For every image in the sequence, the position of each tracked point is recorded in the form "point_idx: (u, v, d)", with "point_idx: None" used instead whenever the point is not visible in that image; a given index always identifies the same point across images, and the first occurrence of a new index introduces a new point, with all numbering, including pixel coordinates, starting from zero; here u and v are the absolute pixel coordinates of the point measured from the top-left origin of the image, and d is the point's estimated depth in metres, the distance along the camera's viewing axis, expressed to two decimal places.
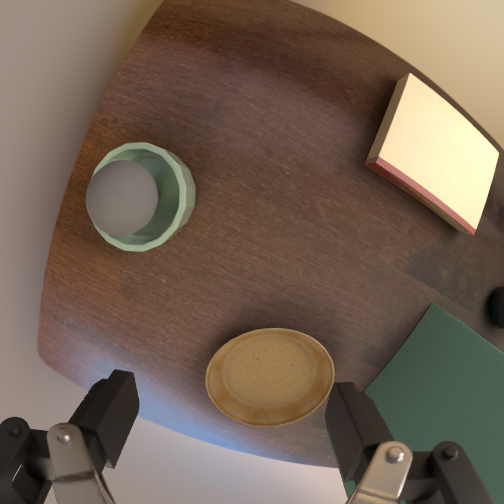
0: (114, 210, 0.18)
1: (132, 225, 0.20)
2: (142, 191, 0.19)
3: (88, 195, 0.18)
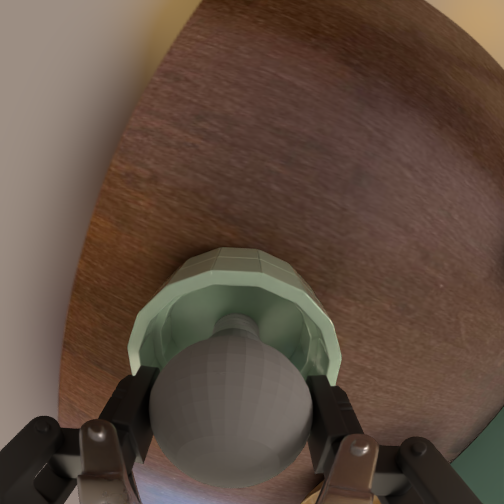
0: (250, 483, 0.07)
1: None
2: (304, 434, 0.08)
3: (170, 450, 0.07)
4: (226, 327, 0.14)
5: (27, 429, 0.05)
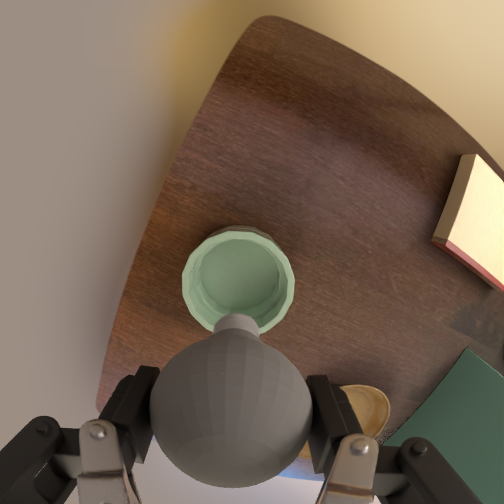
0: (250, 483, 0.07)
1: None
2: (304, 434, 0.08)
3: (171, 450, 0.07)
4: (226, 327, 0.14)
5: (27, 429, 0.05)
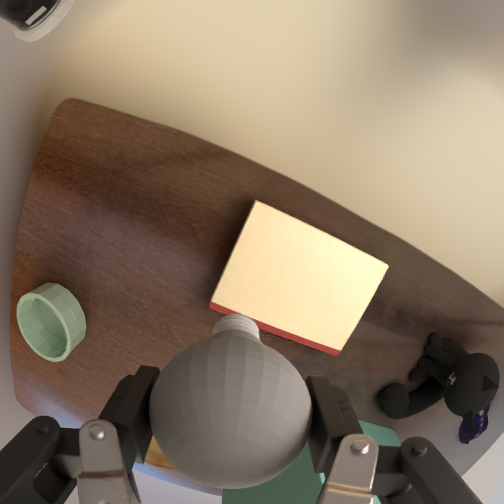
0: (250, 484, 0.07)
1: None
2: (304, 436, 0.08)
3: (170, 451, 0.07)
4: (226, 328, 0.14)
5: (27, 429, 0.05)
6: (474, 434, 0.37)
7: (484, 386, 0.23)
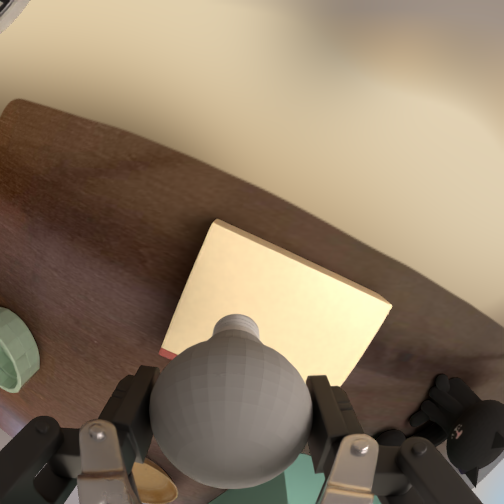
0: (250, 484, 0.07)
1: None
2: (304, 436, 0.08)
3: (171, 451, 0.07)
4: (226, 328, 0.14)
5: (27, 429, 0.05)
6: None
7: (494, 443, 0.15)
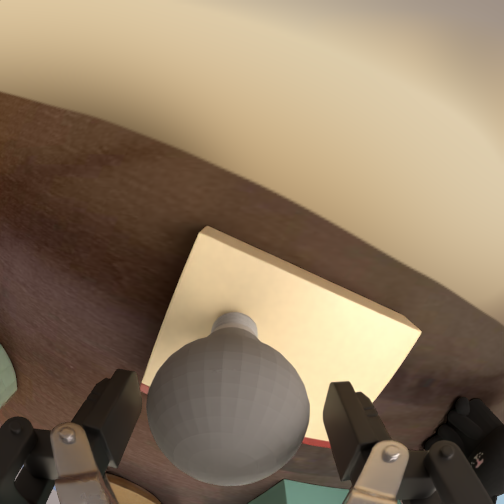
0: (246, 481, 0.07)
1: None
2: (301, 433, 0.08)
3: (167, 447, 0.07)
4: (224, 326, 0.14)
5: (2, 431, 0.05)
6: None
7: None
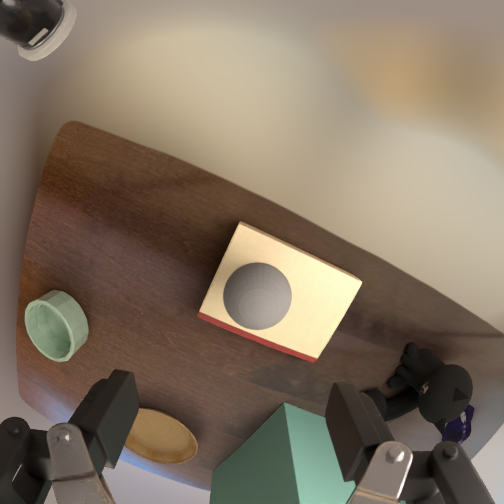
0: (267, 317, 0.23)
1: (275, 324, 0.24)
2: (287, 298, 0.24)
3: (236, 301, 0.23)
4: None
5: None
6: (457, 441, 0.40)
7: (455, 396, 0.26)
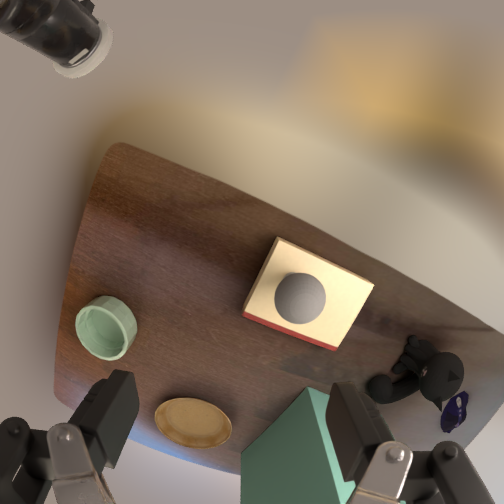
0: (310, 314, 0.30)
1: (314, 319, 0.32)
2: (324, 299, 0.31)
3: (288, 303, 0.30)
4: None
5: None
6: (454, 423, 0.48)
7: (449, 378, 0.34)
